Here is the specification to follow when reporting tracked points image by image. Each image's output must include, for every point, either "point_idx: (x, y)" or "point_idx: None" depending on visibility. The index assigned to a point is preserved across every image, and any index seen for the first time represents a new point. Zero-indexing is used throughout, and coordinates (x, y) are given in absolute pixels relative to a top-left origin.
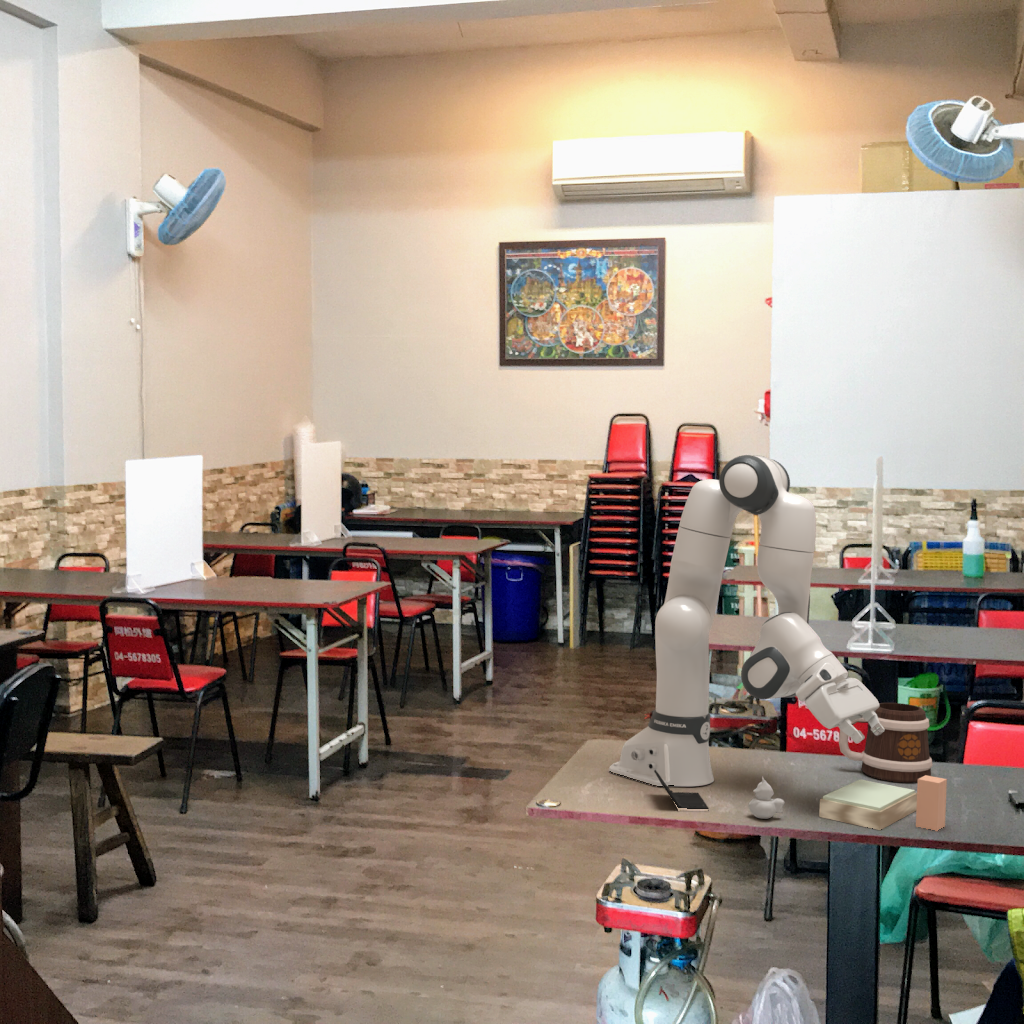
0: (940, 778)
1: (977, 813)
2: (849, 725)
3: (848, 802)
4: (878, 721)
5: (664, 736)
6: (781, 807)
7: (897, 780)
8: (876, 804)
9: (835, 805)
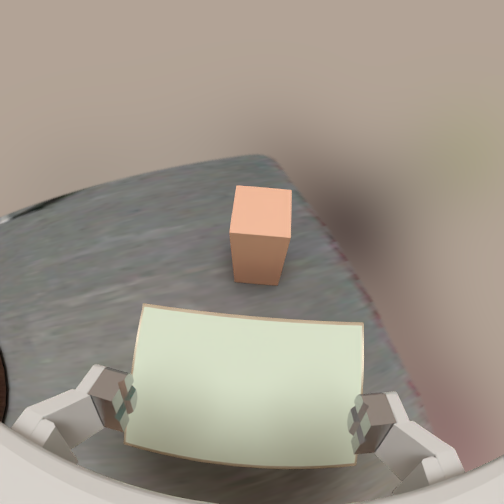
0: (240, 197)
1: (119, 223)
2: (447, 447)
3: None
4: (74, 395)
5: None
6: None
7: (4, 375)
8: (341, 341)
9: None
